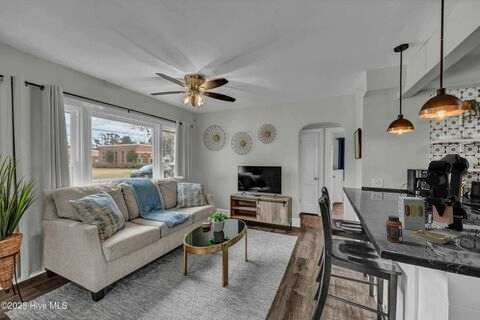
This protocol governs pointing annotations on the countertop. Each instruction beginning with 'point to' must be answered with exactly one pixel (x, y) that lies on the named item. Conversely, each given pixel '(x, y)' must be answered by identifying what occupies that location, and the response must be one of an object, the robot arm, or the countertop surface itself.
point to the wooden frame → (431, 236)
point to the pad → (446, 233)
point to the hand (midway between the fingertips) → (442, 216)
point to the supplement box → (411, 213)
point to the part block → (446, 216)
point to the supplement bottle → (394, 229)
